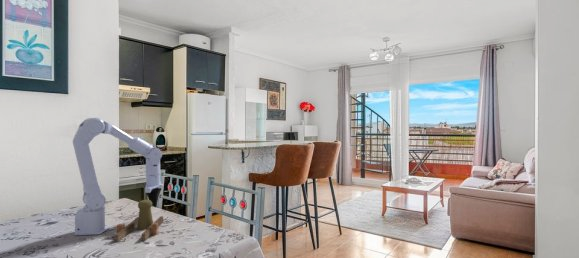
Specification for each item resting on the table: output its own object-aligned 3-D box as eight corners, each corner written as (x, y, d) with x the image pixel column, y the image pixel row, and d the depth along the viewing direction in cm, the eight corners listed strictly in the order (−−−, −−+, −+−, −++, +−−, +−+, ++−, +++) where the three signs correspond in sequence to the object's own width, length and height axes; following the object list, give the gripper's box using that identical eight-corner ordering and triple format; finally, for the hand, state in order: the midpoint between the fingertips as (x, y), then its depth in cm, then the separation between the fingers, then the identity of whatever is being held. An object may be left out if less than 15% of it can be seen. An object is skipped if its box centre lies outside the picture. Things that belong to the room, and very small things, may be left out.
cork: (147, 230, 123) (146, 202, 123) (133, 229, 124) (133, 201, 124) (156, 225, 129) (156, 198, 129) (143, 224, 130) (143, 198, 130)
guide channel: (108, 242, 111) (108, 231, 111) (132, 223, 132) (132, 213, 132) (151, 240, 112) (150, 229, 112) (168, 222, 133) (168, 212, 133)
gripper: (157, 177, 129) (157, 210, 130) (167, 171, 144) (168, 201, 144) (139, 177, 128) (140, 210, 129) (151, 172, 143) (152, 201, 143)
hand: (153, 205), depth 136 cm, fingers closed
